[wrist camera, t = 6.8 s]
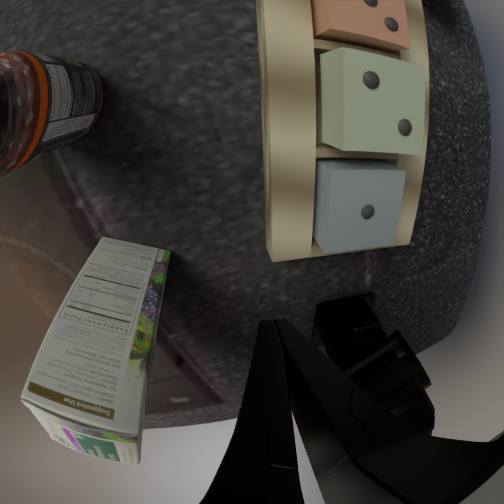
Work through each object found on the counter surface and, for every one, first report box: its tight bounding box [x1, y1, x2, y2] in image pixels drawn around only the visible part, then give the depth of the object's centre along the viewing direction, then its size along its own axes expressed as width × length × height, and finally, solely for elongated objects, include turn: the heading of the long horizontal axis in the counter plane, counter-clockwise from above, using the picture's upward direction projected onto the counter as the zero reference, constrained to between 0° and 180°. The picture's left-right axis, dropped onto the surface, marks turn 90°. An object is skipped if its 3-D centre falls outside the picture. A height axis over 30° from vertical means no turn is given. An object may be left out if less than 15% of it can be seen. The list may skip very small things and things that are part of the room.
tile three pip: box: [310, 0, 410, 52], centre depth 10 cm, size 6×6×3 cm
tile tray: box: [256, 0, 429, 262], centre depth 15 cm, size 22×12×2 cm, turn 2°
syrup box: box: [21, 237, 171, 464], centre depth 14 cm, size 6×6×14 cm
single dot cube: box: [312, 158, 406, 254], centre depth 17 cm, size 6×6×3 cm
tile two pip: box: [320, 47, 425, 156], centre depth 13 cm, size 6×6×3 cm
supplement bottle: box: [0, 52, 103, 177], centre depth 8 cm, size 6×6×11 cm
